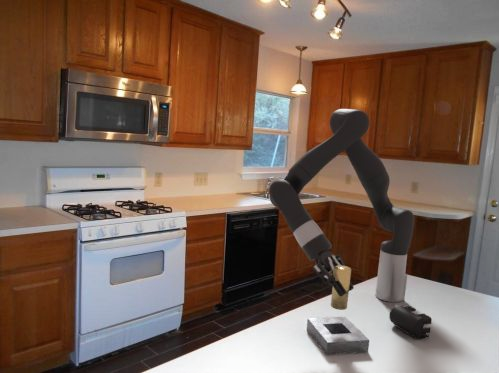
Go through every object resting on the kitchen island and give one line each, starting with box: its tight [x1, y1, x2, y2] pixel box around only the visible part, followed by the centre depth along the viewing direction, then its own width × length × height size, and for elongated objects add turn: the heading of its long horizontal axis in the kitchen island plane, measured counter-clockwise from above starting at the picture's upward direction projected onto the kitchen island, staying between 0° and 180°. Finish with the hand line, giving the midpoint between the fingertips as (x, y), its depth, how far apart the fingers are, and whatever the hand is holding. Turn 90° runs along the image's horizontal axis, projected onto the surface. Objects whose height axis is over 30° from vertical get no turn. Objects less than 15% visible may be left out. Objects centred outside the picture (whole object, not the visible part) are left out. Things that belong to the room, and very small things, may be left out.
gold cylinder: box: [330, 265, 352, 311], centre depth 112 cm, size 4×4×11 cm
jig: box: [306, 316, 370, 356], centre depth 113 cm, size 12×14×4 cm
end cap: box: [388, 304, 432, 340], centre depth 122 cm, size 10×7×7 cm
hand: (347, 292), depth 111 cm, fingers closed on gold cylinder, 4 cm apart
